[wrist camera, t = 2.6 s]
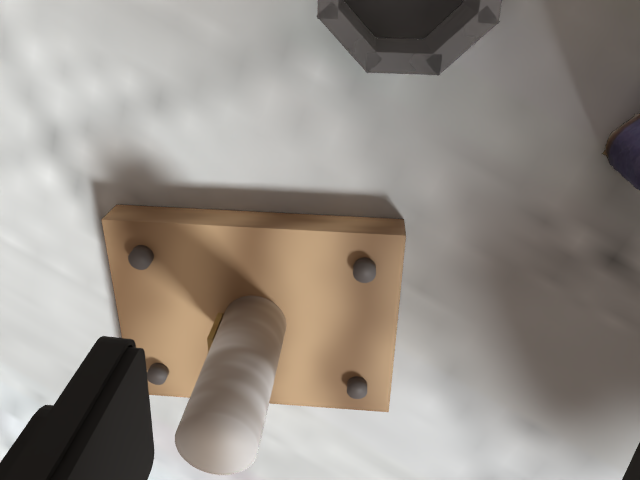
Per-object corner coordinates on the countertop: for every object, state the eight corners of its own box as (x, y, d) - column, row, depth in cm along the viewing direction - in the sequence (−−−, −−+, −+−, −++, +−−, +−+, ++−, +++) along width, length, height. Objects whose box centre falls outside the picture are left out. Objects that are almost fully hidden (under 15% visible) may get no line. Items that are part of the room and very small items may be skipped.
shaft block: (403, 219, 31) (419, 344, 21) (387, 389, 36) (393, 551, 26) (116, 204, 32) (3, 317, 22) (143, 372, 37) (61, 522, 27)
